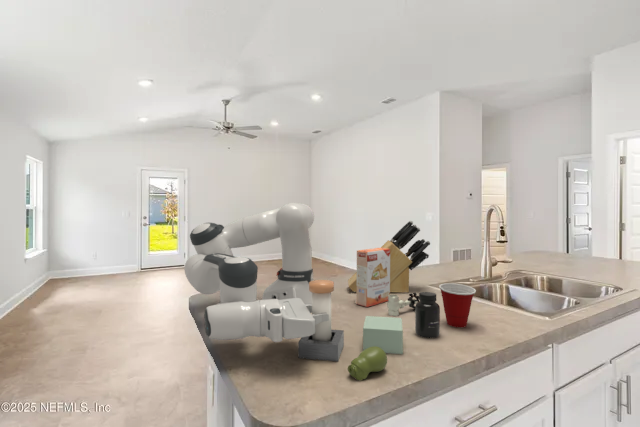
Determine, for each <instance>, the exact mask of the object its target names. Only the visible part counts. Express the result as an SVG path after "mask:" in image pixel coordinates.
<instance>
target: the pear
mask: <svg viewBox="0 0 640 427" xmlns="http://www.w3.org/2000/svg"><path fill="white" fill-rule="evenodd" d="M387 365H388V357H387V353H385V352H384V350H383V349H381V348H380V347H376V346H373V347H369V348H367V349H365V350H364V351H363V350H362V351H361V352H360V353H359V355H358V356H357V357H355V358H353V360H351V361H350V365H348V366H347V371H348V373H349V375H350V376H351V377H352V378H354V379H355V378H356V379H355V380H357V381H363V379H364V380H366V379H367V378H368V376H369V374H370V373H371V372H372V373H373V372H374V373H375V372H376V373H377V372H381V371H383V370H384V369H385V368H386V367H387Z"/></svg>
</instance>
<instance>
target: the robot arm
mask: <svg viewBox="0 0 640 427" xmlns="http://www.w3.org/2000/svg"><path fill="white" fill-rule="evenodd" d="M314 221H315V215H314V211H313V209H312V208H311V207H310V206H309V205H308V204H306V203H302V202H301V203H300V202H288V203H286V204H284V205H283V206H281V207H277V208H275V209H271V210H270V209H269V210H267V211H262V212H259V213H255V214H252V215H248V216H245V217H241V218H239V219H236V220H234V221H232V222H230V223H228V224H226V225H223V224H218V223H215V222H204V223H201V224H199V225H197V226H195V227H194V228H193V229H192V230H191V232H190V234H189V238H190V239H189V240H190V242H191V244H192V245H193V247H194V250H195V252H196V254H194V255H192V256H190V257H189V258H187V260H186V261H185V263H184V268H183V269H184V274H185V277H186V279H187V281H188V282H189V284H190V285H191V286H192V287H193V289H195V291H196V292H198V293H200V294H203V295H214V294H216V293H218V292H219V302H218V303H217V304H212V305H209V306H206V307H205V309H204V313H203V314H204V315H203V317H204V319H203V320H204V321H203V322H204V331H205V335H206V336H207V338H208V339H212V340H221V341H222V340H223V341H224V340H230V341H231V340H240V339H242V340H243V339H245V338H247V337H248V338H249V337H257V338H262V337H264V338H268V339H270V340H271V341H272V343H273V342H274V343H280V342H283V339H285V340H291V339H301V337H307V336H311V335H313V334H314V333H315V324H318V323H320V322H324V321H328V320H329V315H328V314H327V313H326V312H325V313H321V314H317V315H315V314H312V292H310V291H309V282H310V281H314V270H313V269H314V268H312V266H313V264H312V263H313V262H312V258H313V257H312V245H311V240H310V233H309V229H310V227H311V226H312V225H313V223H314ZM279 238H280V239H279ZM276 239H279V240H280V243H281V245H280V246H281V262H282V266H281V268H280V269H279V270H277V272H276V276H277V279H276V280H274V281H273V282H272V283H271V284H269V285H268V286H267V287H266V288H265V289H264V290H263V292H262V298H261V299H258V298H257V297H258V292H257V291H258V290H257V289H258V288H257V287H258V286H257V284H258V283H257V280H258V270H259V266H258V265H257V264H256V263H255V262H254V261H253V259H251V258H249V257H243V256H234V253H233V251H232V249H235V248H237V249H238V248H246V247H249V246H253V245H257V244H261V243H265V242H269V241H272V240H276Z"/></svg>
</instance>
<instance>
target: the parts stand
mask: <svg viewBox="0 0 640 427" xmlns="http://www.w3.org/2000/svg"><path fill="white" fill-rule="evenodd" d="M403 330H404V329H403V320H402V317H394V316H391V317H390V316H389V317H388V316H376V315H375V316H373V315H365V319H364V322H363V327H362V343H363V344H362V347H363V348H362V351H364V350H365V349H367V348H369V347H373V346H376V347H380V348H381V349H383V350H384V352H385V353H386V354H393V355H394V354H396V355H404V351H403V350H404V347H403V346H404V342H403V341H404V336H403V333H404V332H403Z"/></svg>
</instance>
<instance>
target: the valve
mask: <svg viewBox="0 0 640 427" xmlns="http://www.w3.org/2000/svg"><path fill="white" fill-rule="evenodd" d="M408 296H409V297H408V298H407V300H404V299H400V298H399V297H400V296H399V295H398V294H390V295H388V300H389V301H387V304H386V305H387V308H388V309H387V310H388V311H387V312H388V315H389V316H391V317H397V316H399V314H400V313H399V312H400V311H399V309H404V308H405V307H409V308H411V309H412V311H413V312H415V306H416V303H417V302H419V301H420V300H419V295H418V293H417V292H411V293H409V294H408Z"/></svg>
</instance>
